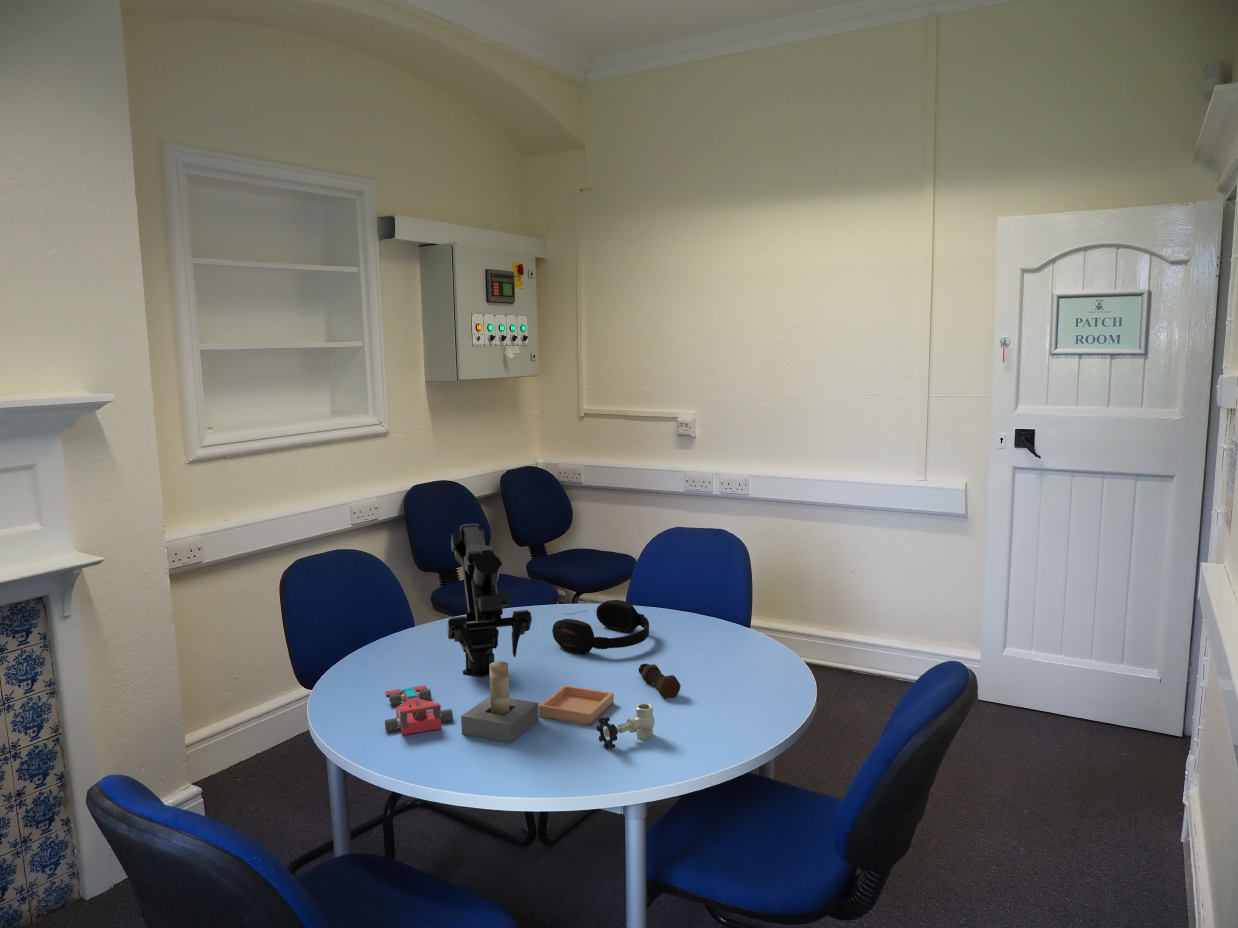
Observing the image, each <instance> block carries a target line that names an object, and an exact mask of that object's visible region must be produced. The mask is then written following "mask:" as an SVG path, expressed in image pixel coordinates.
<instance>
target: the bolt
mask: <svg viewBox="0 0 1238 928" xmlns="http://www.w3.org/2000/svg"><path fill="white" fill-rule="evenodd" d="M638 674H640V676H641V678H642V679H643V681H644V682H645V683H646V684H647V685H654V686H655V687H656V691H657V692H658V693H659V695H660V697H661V698H662V697H663V698H662V699H664V700H665V699H666V698H668V699H673V698H675V697H677V696H678V694H679V693H680V690H681V687H682V686H681V684H680V681H679V680H678V679H677V677H676V676H675V675H674V674H671V675H665V674H664V673H662V672H661V670H660V669H659V667H658V666H657V665H656V664H654V663H653V664H649V663H641V664H640V665H639V667H638ZM666 700H667V699H666Z"/></svg>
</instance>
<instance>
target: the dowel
mask: <svg viewBox="0 0 1238 928" xmlns="http://www.w3.org/2000/svg"><path fill="white" fill-rule="evenodd" d="M489 669H490V673H489V691H490V692H489V693H490V695H489V696H490V698H491V713H493V714H498V715H506V714H507V713H508V712H510V705H509V698H510V683H509V682H510V680H509V679H510V678H509V676H510V675H509V663H508V662H506V661H495V662H493V663H491V664H490V665H489Z"/></svg>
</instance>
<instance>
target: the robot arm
mask: <svg viewBox="0 0 1238 928" xmlns="http://www.w3.org/2000/svg"><path fill="white" fill-rule="evenodd" d="M485 540H486V539H485V532H484V530H483V529H482V528H481V525H480V524H478V523H465V524H464V523H463V524H462V525H460V526H459V528H458V529H457V530H455V531H454V532H453V533H452V534H451V539H450V545H451V552H454V559H455V560H456V562H457V563H458V564H459V565H460V566H461V568H462V574H463V581H464V582H463V584H464V591H465V597H466V604H467V605H466V606H467V614H466V615H465V616H464V615H463V616H452V617H449V618H448V620H447V627H446V628H447V629H446V631H447V632H446V633H447V638H448V640H454V642H455V643H457V642H458V643H459V644H460V645H461V649H462V651H463V653H465V654H464V655H465V669H463V670H462V674H465V675H466V674H467V675H473V676H477V677H478V676H479V677H486V676H487V675H490V669H489V665H490V664H491V663H493V662H496V661H495V653H494V652H493V651H494V650H493V649H497V648H498V646H499V634H500V631H499V630H500V629H498V628H504V627H511V643H512V644H511V646H512V647H511V648H512V649H511V651H512V656H513V658H516V656H517V651H518V644H519V640H520V637H521V636H522V635H525V633H526V632H528V631H530V629H531V625H532V621H533V619H532V617H533V616H532V612H530V610H528V609H523V610H514V611H512V616H510V617H502V616H503V614H504V611H503V607H509V606H510V605H511V599H510V598H511V597H510V593H509V590H505V591H504V590H503V591H500V593H499V592H498V587H497V586H498V585H497V583H498V580H499V575H500V570H501V567H502V566H503V565H502V562H503V561H502V560H501V559H500V558H499V555H498V554H497V553H496V552H495V551H494V549H493V547H492V546H489V545H486V541H485Z"/></svg>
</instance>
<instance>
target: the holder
mask: <svg viewBox="0 0 1238 928" xmlns="http://www.w3.org/2000/svg"><path fill="white" fill-rule="evenodd" d="M509 705H510V712H508V713H507V714H506V715H498V714H493V713H491V698H490V695H488V696H487V697H486V698H485V699H483V700H482V701H480V702H479V703H478V704H476V705H475V706H473V707H471V708H470V709H469V710H468V711H465V713H464V712H463V714H462V715H461V716H460V720H461V721H460V723H461V724H460V725H461V734H462V735H467V736H471V737H477V738H482V739H487V740H491V741H497V742H502V743H507V744H512V743H513V742H514V741H516V740H517V739H518V738H519V737H520V736H521V735H523V734H524V733H525V732H526V731H527V730H528V729H530V728H531V727H532V726H534V724H535V725H536V723H538V721H539V702H536V701H535V702H534V701H529V700H524V699H518V698H512V697H509Z"/></svg>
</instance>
